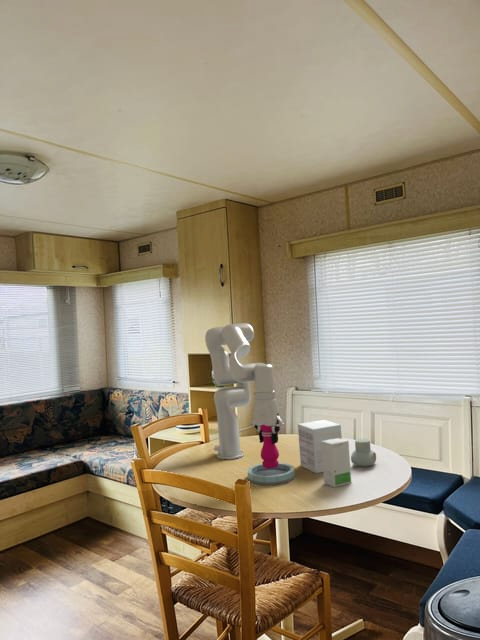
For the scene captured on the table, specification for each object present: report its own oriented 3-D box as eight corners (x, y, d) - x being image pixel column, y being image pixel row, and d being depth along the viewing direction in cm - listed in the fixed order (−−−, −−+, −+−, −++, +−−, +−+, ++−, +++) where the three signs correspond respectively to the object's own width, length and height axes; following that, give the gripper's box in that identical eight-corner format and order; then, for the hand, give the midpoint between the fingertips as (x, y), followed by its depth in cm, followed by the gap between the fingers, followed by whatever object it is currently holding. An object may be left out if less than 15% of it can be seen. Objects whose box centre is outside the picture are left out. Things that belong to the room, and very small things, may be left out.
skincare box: (334, 488, 171) (331, 444, 171) (322, 483, 177) (319, 441, 177) (352, 483, 175) (349, 440, 175) (340, 478, 181) (337, 437, 181)
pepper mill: (260, 464, 191) (256, 414, 191) (278, 462, 192) (274, 412, 192) (262, 469, 184) (258, 417, 184) (281, 467, 184) (277, 415, 185)
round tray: (239, 481, 186) (238, 473, 186) (264, 468, 200) (263, 460, 200) (279, 488, 175) (279, 479, 175) (302, 473, 190) (302, 465, 190)
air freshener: (358, 460, 202) (356, 436, 202) (377, 462, 198) (375, 437, 198) (350, 468, 192) (348, 443, 192) (370, 470, 188) (368, 444, 188)
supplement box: (327, 460, 206) (324, 419, 206) (344, 467, 193) (341, 424, 194) (299, 465, 201) (296, 423, 201) (315, 473, 189) (312, 429, 189)
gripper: (242, 397, 190) (245, 443, 190) (279, 398, 180) (282, 446, 180) (252, 394, 196) (256, 438, 196) (289, 394, 186) (292, 441, 186)
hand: (268, 441), depth 188 cm, fingers closed on pepper mill, 5 cm apart
